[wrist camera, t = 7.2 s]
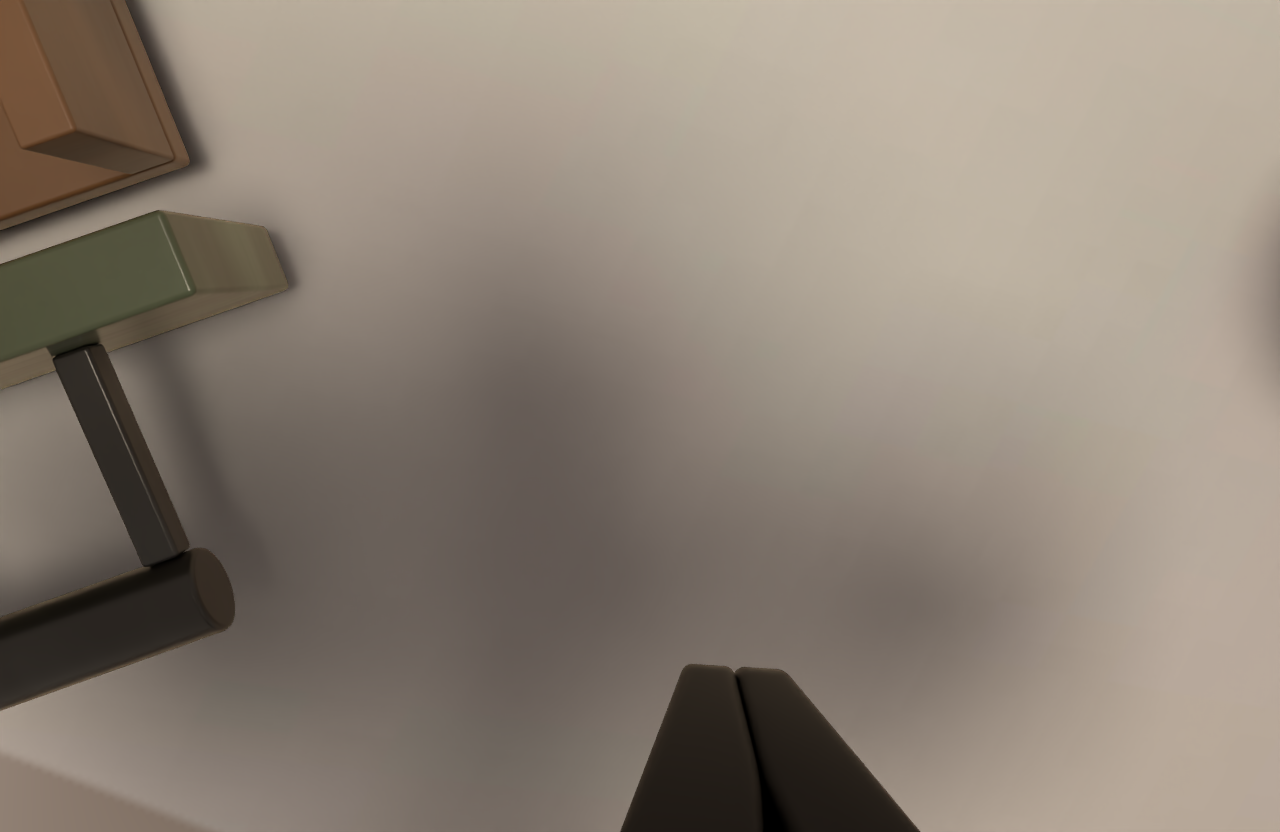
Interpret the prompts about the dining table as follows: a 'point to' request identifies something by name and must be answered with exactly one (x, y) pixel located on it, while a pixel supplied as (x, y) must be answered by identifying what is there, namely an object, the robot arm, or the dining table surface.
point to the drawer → (106, 321)
